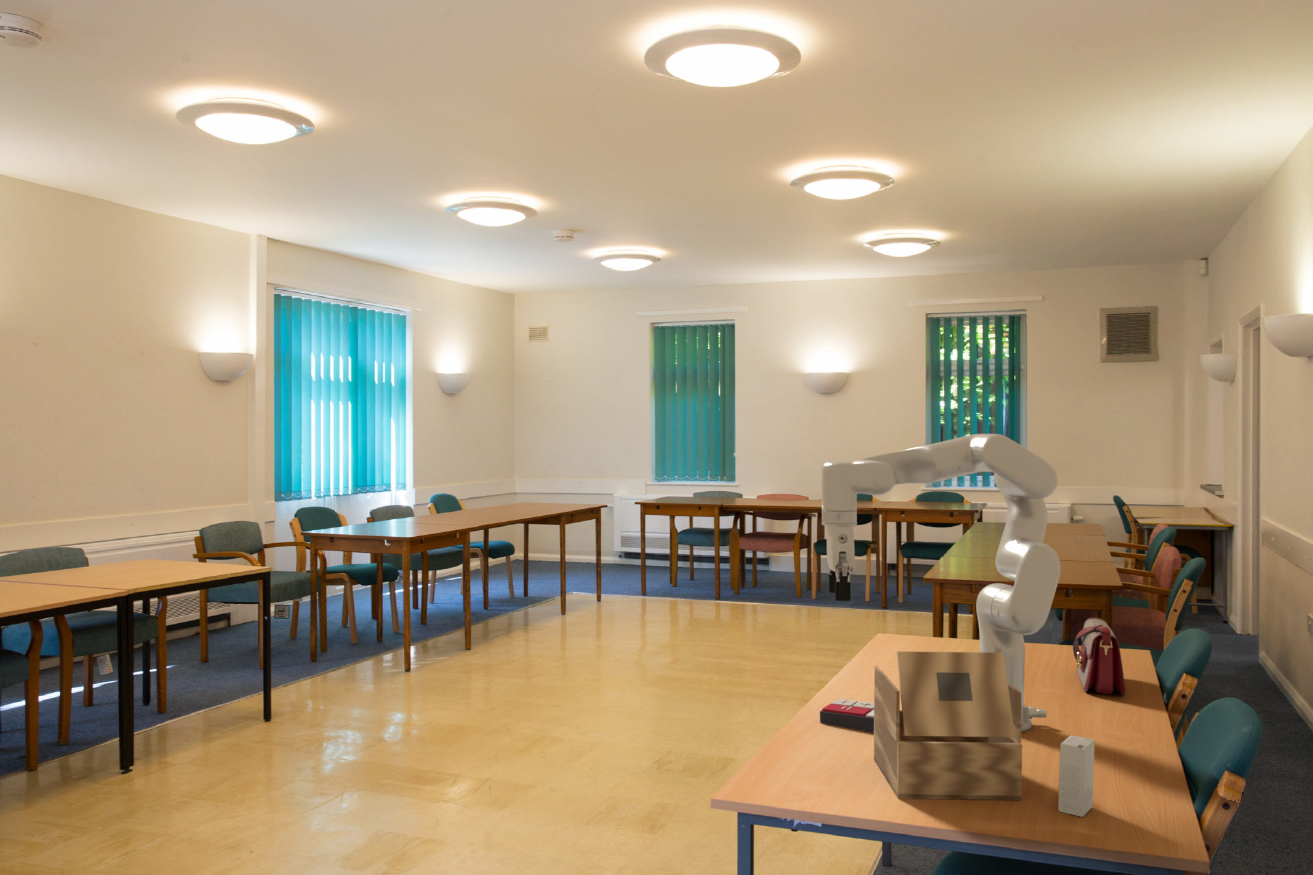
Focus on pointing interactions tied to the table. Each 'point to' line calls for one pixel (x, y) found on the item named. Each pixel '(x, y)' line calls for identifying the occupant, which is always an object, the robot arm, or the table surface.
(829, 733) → the table surface
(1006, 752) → the carton
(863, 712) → the calculator
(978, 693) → the carton flap
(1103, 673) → the handbag
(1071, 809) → the skincare box
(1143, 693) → the table surface
